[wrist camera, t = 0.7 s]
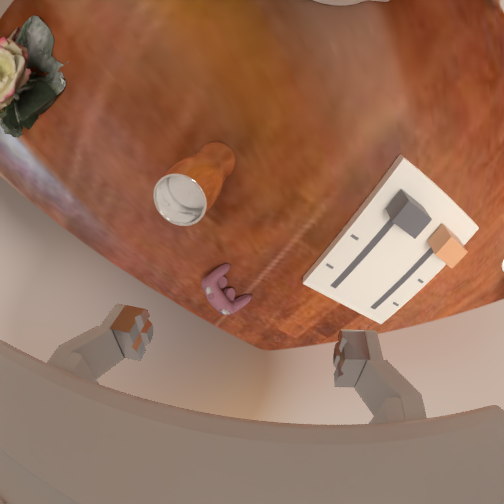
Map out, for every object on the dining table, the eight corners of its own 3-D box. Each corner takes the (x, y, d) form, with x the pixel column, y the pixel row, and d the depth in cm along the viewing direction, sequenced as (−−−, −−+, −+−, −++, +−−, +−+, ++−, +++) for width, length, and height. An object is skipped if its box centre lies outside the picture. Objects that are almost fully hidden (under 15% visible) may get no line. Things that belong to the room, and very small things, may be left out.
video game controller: (215, 260, 57) (192, 285, 53) (230, 261, 54) (206, 287, 50) (240, 295, 61) (220, 320, 58) (255, 297, 58) (235, 324, 54)
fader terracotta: (442, 223, 39) (451, 236, 36) (459, 238, 40) (467, 252, 36) (427, 240, 41) (434, 254, 38) (444, 254, 42) (451, 268, 39)
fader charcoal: (401, 189, 38) (409, 200, 34) (423, 206, 38) (432, 219, 35) (385, 208, 40) (391, 221, 37) (408, 225, 41) (414, 239, 37)
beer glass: (243, 177, 44) (215, 224, 32) (202, 183, 46) (163, 230, 34) (232, 134, 40) (197, 166, 28) (190, 143, 42) (143, 178, 30)
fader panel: (400, 153, 37) (404, 157, 35) (474, 222, 40) (479, 228, 38) (303, 276, 53) (302, 284, 52) (380, 317, 56) (381, 324, 54)
